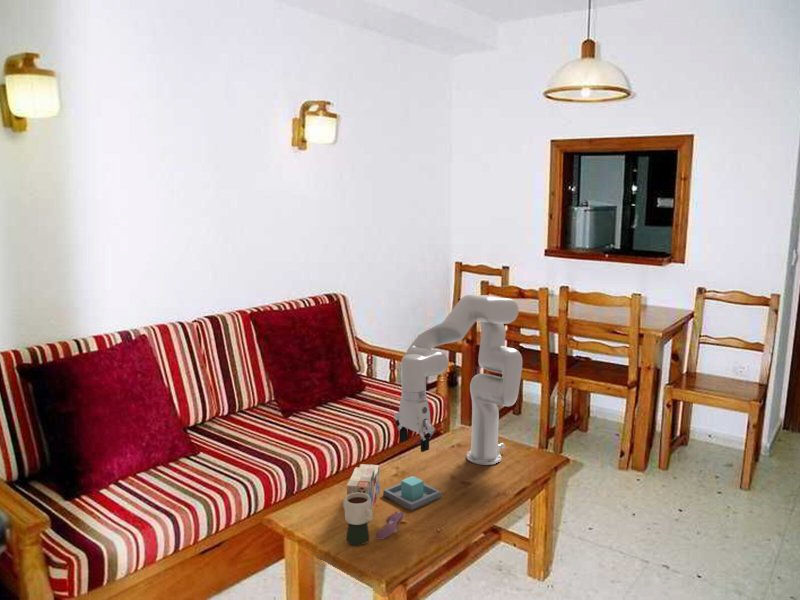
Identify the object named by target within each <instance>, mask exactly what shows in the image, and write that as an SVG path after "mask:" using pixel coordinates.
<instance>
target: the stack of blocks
mask: <svg viewBox="0 0 800 600" xmlns="http://www.w3.org/2000/svg"><path fill="white" fill-rule="evenodd" d="M349 478H350V479H349V480H348V482H347V484H346V496H347V495H348V494H351V493H356V492H362V493H366V494H368V495H369V496H370V499H371V510H372V511H373V512H374V508H375V505H374V504H375V503H376V501H377V499H378V497H379V494H380V482H381V481H380V478H381V477H380V465H378V464H365V463H364V464H363V463H361V464H360V465H359V467H354V470H353V472H352V475H351V476H350V477H349ZM373 507H374V508H373ZM346 524H349V523H348V522H346ZM368 524H369V522H368V521H367V525H368Z"/></svg>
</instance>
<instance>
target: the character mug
mask: <svg viewBox="0 0 800 600" xmlns="http://www.w3.org/2000/svg"><path fill="white" fill-rule="evenodd" d="M342 505H343V509H344V519H345V521H346V523H347V522H348V523H347V529H346V530H347V531H346V538H345V539H346V542H347V543H348V544H350V545H352V546H358V545H363V544H365V543H368V542H369V540H370V537H369V536H370V535H369V528H368V526H369V525H368V524H367V521H369V522H372V521H373V512H374V511H373V512H372V510H371V499H370V496H369V495H368V494H366V493H362V492H356V493H351V494H348V495H347V494H346V496H345V498H343V501H342Z"/></svg>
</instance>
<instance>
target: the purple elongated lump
mask: <svg viewBox="0 0 800 600" xmlns="http://www.w3.org/2000/svg"><path fill="white" fill-rule="evenodd" d="M404 516H405V513H403V512H402V511H399V510H397V511H394V513H392V514H391V515H389V516H388V517H387V518H386V519H385V522H386V525H385V526H384V527H382V528H380V529H379V530H378V531H377V532H376V533H375V537H376V538H377V539H379V540H383V539H386V538H388V537H392V535H393V533H397V532H398V529H399V525H400V523H402V521H403V519H404Z"/></svg>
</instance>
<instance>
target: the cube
mask: <svg viewBox="0 0 800 600" xmlns="http://www.w3.org/2000/svg"><path fill="white" fill-rule="evenodd" d="M424 482H425V481H424V480H423V479H420V478H418V477H416V476H415V475H412V476H408V477H407V478H404V479H402V480H401V482H400V483H401V495H402V496H404V497H406V498H408V499H410V500H412V501H413V500H415V499H417V498H420V497H422V496H423V489H424V484H425V483H424Z"/></svg>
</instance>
